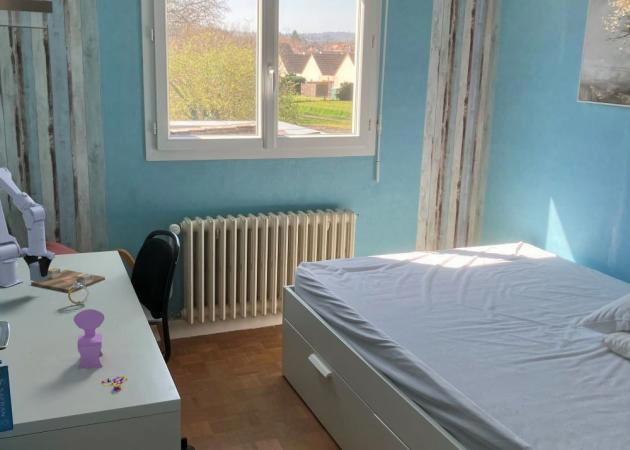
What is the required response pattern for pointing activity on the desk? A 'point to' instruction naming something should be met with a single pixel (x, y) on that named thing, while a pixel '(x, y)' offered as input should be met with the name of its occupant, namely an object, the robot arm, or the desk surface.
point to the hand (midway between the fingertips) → (39, 275)
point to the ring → (74, 289)
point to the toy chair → (89, 337)
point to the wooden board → (67, 279)
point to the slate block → (36, 273)
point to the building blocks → (116, 385)
